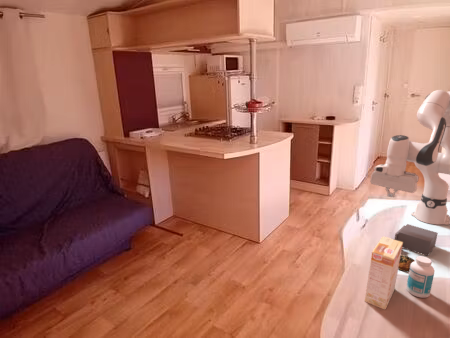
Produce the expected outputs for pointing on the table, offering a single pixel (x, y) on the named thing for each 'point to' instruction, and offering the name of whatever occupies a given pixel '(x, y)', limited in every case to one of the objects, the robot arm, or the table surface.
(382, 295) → the coffeecake box
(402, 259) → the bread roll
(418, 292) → the pill bottle
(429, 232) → the block
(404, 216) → the table surface
